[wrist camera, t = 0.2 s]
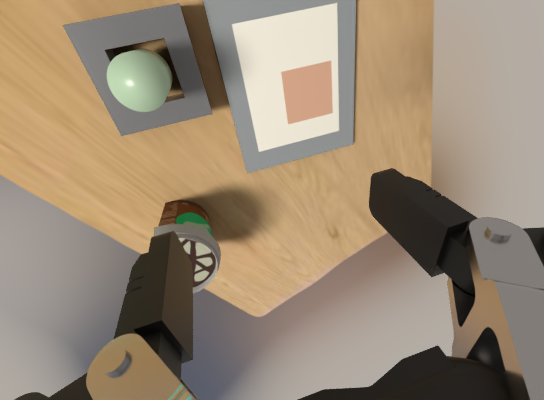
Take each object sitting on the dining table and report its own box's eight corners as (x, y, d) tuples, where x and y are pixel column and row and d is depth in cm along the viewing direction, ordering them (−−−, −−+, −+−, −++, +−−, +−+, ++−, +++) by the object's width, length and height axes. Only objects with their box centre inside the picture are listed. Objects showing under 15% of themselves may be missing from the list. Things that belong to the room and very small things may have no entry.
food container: (226, 237, 46) (233, 280, 38) (194, 249, 46) (194, 295, 38) (199, 182, 39) (200, 220, 31) (160, 195, 39) (151, 238, 31)
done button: (113, 54, 26) (94, 58, 21) (161, 44, 27) (154, 46, 22) (135, 103, 29) (124, 117, 24) (179, 93, 30) (176, 105, 25)
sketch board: (201, -5, 28) (201, -6, 27) (354, -33, 30) (357, -35, 29) (246, 171, 40) (247, 173, 40) (351, 143, 42) (353, 144, 42)
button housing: (74, 26, 26) (62, 25, 24) (180, 5, 28) (179, 3, 25) (126, 128, 33) (121, 135, 30) (211, 108, 34) (212, 113, 31)
